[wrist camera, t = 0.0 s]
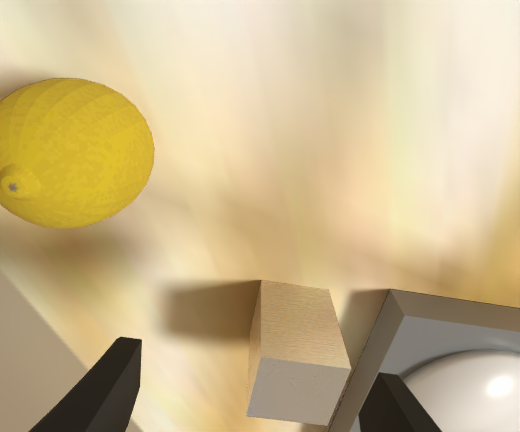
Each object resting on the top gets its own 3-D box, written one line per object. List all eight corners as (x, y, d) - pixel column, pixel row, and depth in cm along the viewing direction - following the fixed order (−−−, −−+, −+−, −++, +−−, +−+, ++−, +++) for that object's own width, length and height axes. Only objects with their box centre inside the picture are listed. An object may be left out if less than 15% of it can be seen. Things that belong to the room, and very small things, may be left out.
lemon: (141, 201, 19) (65, 293, 11) (46, 143, 17) (-111, 205, 10) (193, 120, 17) (140, 168, 9) (90, 47, 15) (-65, 37, 8)
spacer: (312, 339, 23) (327, 425, 18) (249, 330, 23) (246, 416, 17) (328, 289, 21) (351, 368, 16) (261, 279, 21) (261, 357, 15)
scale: (480, 457, 29) (504, 501, 26) (325, 439, 28) (332, 483, 25) (590, 319, 22) (640, 358, 19) (390, 288, 21) (410, 325, 18)
